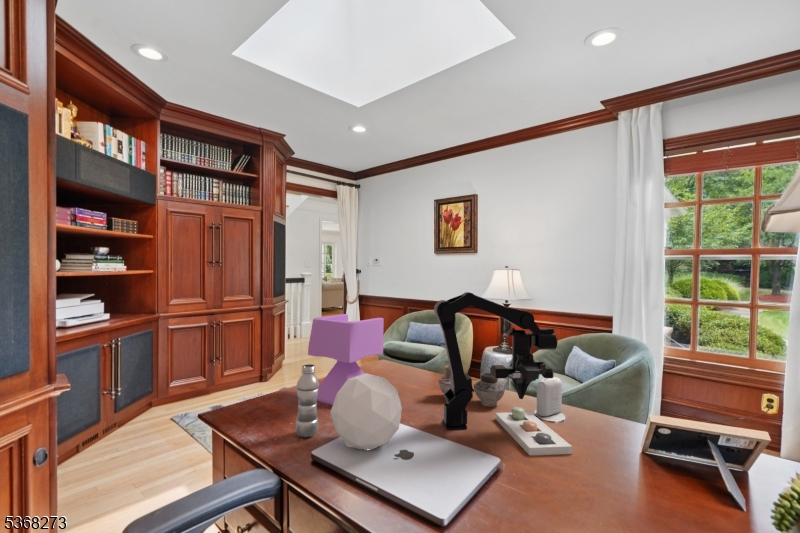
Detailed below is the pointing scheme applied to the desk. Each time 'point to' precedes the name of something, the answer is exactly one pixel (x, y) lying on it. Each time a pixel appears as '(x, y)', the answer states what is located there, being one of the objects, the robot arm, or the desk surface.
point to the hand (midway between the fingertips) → (520, 398)
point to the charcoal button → (543, 438)
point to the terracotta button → (529, 426)
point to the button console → (533, 435)
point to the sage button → (518, 414)
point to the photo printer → (549, 396)
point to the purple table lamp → (343, 348)
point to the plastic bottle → (307, 402)
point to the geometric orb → (366, 411)
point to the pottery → (478, 387)
